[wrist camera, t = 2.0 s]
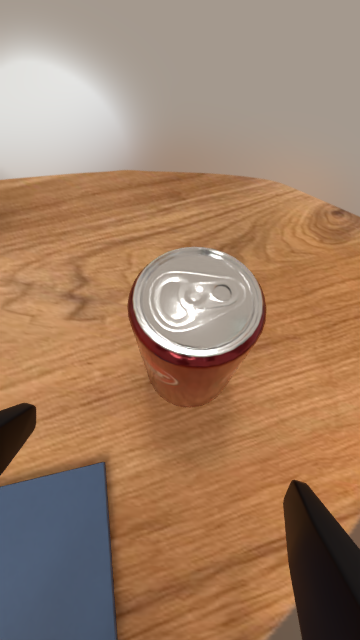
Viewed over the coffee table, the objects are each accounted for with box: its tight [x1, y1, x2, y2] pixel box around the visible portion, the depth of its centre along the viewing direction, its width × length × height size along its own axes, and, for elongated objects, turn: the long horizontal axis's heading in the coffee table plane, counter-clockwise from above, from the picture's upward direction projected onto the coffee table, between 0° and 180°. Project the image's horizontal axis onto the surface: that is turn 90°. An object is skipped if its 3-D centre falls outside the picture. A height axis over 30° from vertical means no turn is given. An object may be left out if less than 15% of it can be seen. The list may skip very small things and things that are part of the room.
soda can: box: [128, 247, 266, 407], centre depth 18 cm, size 7×7×12 cm
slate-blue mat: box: [0, 462, 117, 640], centre depth 17 cm, size 10×10×1 cm
